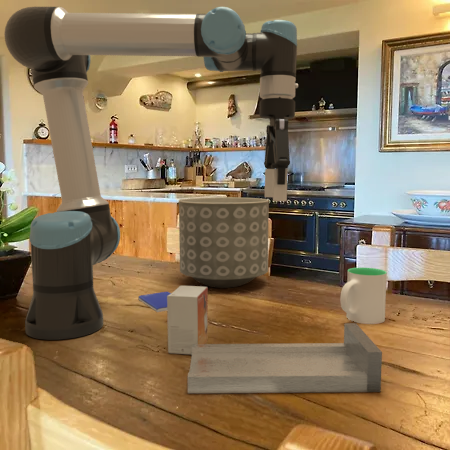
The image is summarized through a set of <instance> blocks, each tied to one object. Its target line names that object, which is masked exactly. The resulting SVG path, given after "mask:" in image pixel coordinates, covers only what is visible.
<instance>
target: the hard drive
mask: <svg viewBox="0 0 450 450" xmlns="http://www.w3.org/2000/svg"><path fill="white" fill-rule="evenodd" d="M171 293H172V292H169V291H161V292H154V293H147V294H143V295H142V294H141V295H139V296H138V300H139V301H140V302H141V303H143V304H144V305H146V306H148V307H149V308H150V309H152V310H153V311H155V312H156V313H160V312H165V311H166V312H167V296H168V295H170V294H171Z"/></svg>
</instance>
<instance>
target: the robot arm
mask: <svg viewBox="0 0 450 450" xmlns="http://www.w3.org/2000/svg"><path fill="white" fill-rule="evenodd" d="M246 32H247V31H246V27H245V24H244V22H243V20H242V19H241V17H240V15H239V14H238V13H237V11H235V10H234V9H232V8H230V7H227V6H217V7H215V8H212V9H211V10H209V11H208V12H207V13H145V12H143V13H138V12H137V13H134V12H133V13H132V12H130V13H129V12H126V13H117V12H111V13H110V12H69V11H67V9H66V8H64V7H62V6H27V7H24V8H21V9H18V10H17V11H15V12H14V13H13V14H12V15H11V16H10V17H9V18H8V20H7V23H6V25H5V28H4V41H5V45H6V48H7V50H8V52H9V53H10V55H11V57H13V59H14V60H15V61H17V62H18V63H19V64H20V65H22V66H24V67H25V68H27V69H30V72H31V77H32V82H33V88H34V90H36V91H37V92H38V93H40V94H41V95H42V98H43V103H44V109H45V114H46V121H47V125H48V129H49V131H48V132H49V137H50V140H51V147H52V153H53V159H54V164H55V168H56V169H55V170H56V174H57V181H58V185H59V191H60V192H59V193H60V197H61V203H60V205H59V206H58V208H57V209H56V211H54V212H48V213H44V214H41V215H38V216H36V217H35V218H34V219H32V221H31V222H30V223H31V224H30V233H29V242H30V258H31V274H32V292H33V293H32V296H31V300H30V303H29V307H28V311H27V314H26V317H25V334H26V335H27V336H29V337H31V338H33V339H37V340H38V339H39V340H44V341H45V340H47V341H49V340H51V341H53V340H54V341H56V340H57V341H58V340H69V339H75V338H81V337H84V336H87V335H90V334H93V333H95V332H97V331H99V330H101V329H102V328H103V326H104V315H103V314H104V312H103V310H102V307H101V305H100V302H99V300H98V297H97V295H96V292H95V289H94V269H93V267H94V265H96V264H98V263H102V262H104V261H106V260H107V259H109V258H110V257H111V256H112V255H113V254H114V253H115V251H116V250H117V248H118V246H119V244H120V240H121V229H120V226H119V223H118V221H117V220H116V219H115V218H114V217H113V216H112V215H111V214H112V213H111V208H110V202H109V201H108V200H107V199H105V198H103V197H102V195H101V190H100V185H99V178H98V172H97V167H96V161H95V155H94V149H93V144H92V138H91V137H92V136H91V132H90V126H89V125H90V124H89V120H88V115H87V109H86V103H85V97H84V91H85V89H86V88H87V87H88V85H89V80H88V73H87V72H88V71H89V70H90V67H91V56H125V57H126V56H127V57H128V56H132V57H133V56H134V57H135V56H136V57H141V56H145V57H151V56H152V57H198V58H199V57H201V58H203V62H204V67H205V69H206V70H207V71H213V72H220V73H223V72H241V71H242V72H247V71H249V72H250V71H251V72H252V71H253V72H254V71H255V72H256V71H258V72H259V71H260V77H259V98H261V100H260V101H259V118H261V119H263V120H269V124H266V125H267V126H266V130H265V132H266V137H265V138H266V139H265V140H266V142H265V151H264V161H263V166H264V168H265V169H264V171H265V172H264V198H272V201H273V202H287V201H288V199H287V198H288V197H287V196H288V169H289V166H290V165H291V159H290V144H289V119H290V120H291V119H293V118H295V116H296V101H295V100H294V98H295V97H296V89H298V88H299V84H298V83H296V80H297V79H296V77H297V61H298V57H297V56H298V31H297V26H296V24H294V22H292V21H289V20H284V19H274V20H267V21H265V22H264V23H262V25H261V29H260V32H253V33H250V32H249V33H246Z"/></svg>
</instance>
